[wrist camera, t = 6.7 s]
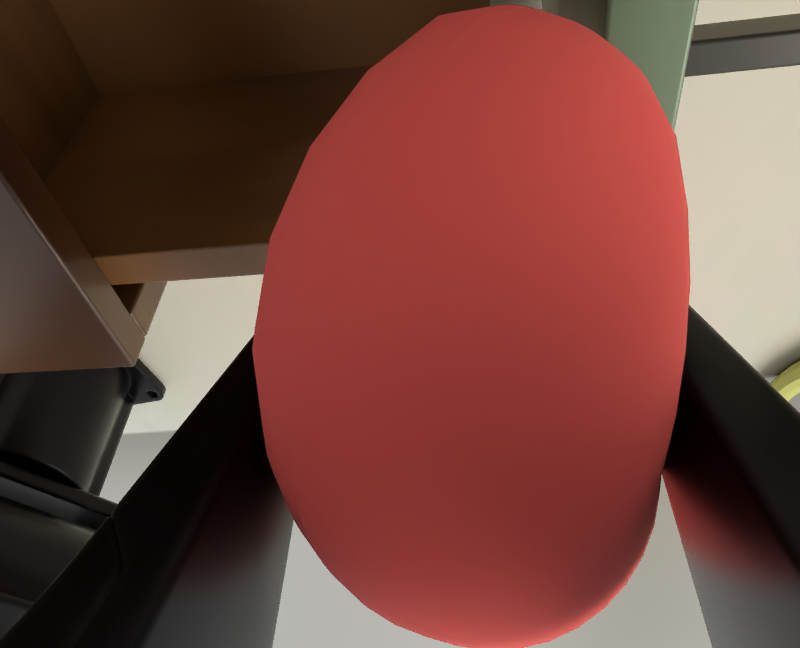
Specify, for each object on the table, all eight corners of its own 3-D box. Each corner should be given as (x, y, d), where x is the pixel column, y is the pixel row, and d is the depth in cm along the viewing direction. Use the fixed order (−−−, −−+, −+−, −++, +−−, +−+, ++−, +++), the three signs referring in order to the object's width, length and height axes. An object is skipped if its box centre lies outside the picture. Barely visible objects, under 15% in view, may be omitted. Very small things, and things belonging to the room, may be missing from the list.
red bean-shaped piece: (280, 353, 14) (372, 674, 12) (79, 19, 5) (282, 947, 3) (512, 280, 14) (639, 574, 12) (660, -132, 6) (1151, 590, 4)
